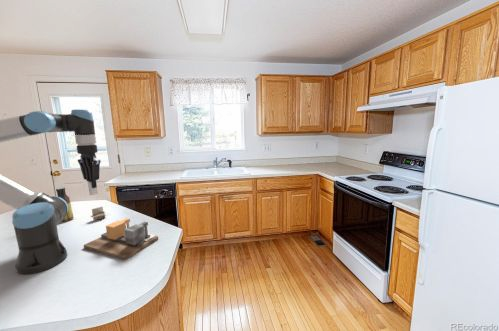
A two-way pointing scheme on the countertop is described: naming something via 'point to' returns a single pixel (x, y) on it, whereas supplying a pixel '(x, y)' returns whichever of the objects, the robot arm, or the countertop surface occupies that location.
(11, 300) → the countertop surface
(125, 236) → the brown board with bar
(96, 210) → the architectural model
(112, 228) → the block
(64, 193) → the sauce bottle
